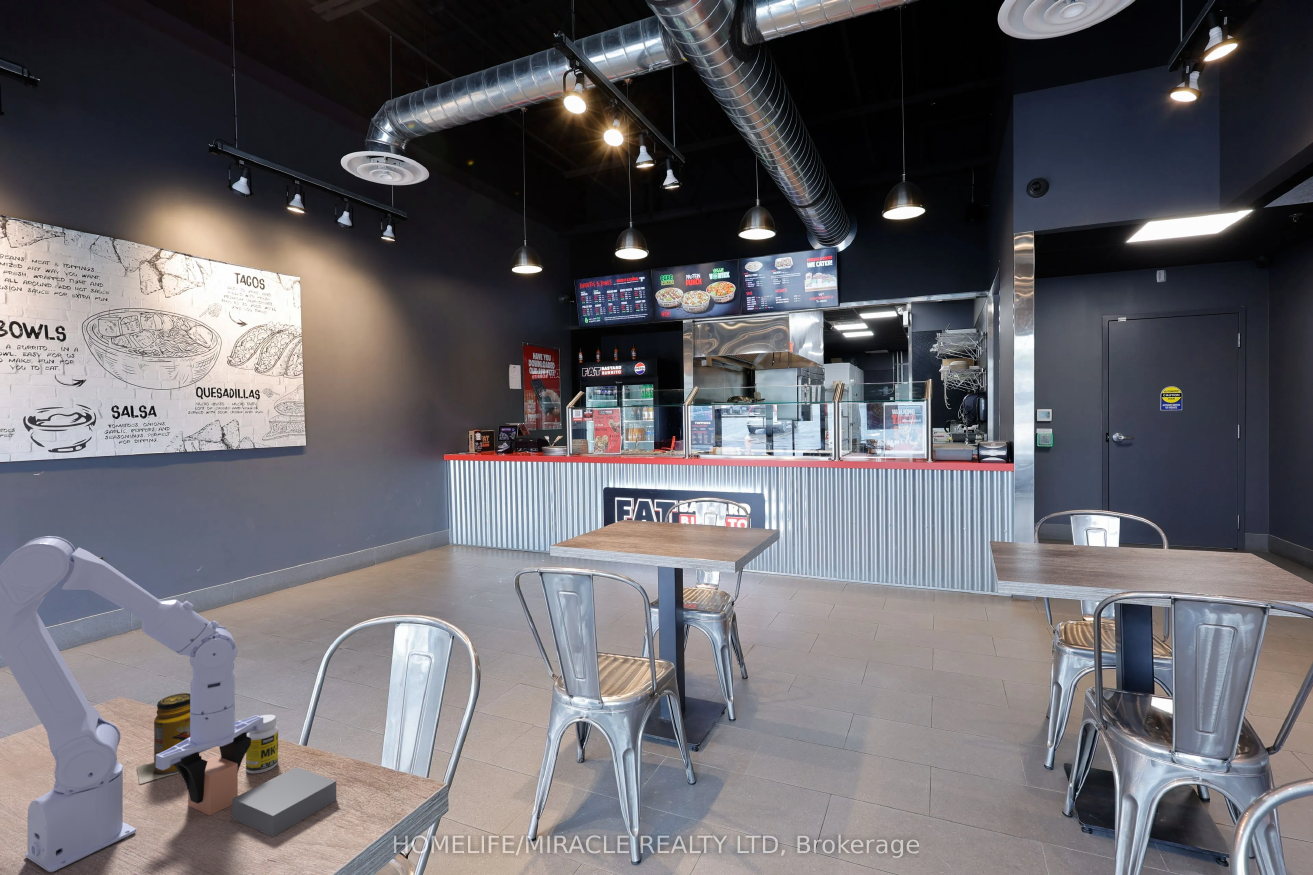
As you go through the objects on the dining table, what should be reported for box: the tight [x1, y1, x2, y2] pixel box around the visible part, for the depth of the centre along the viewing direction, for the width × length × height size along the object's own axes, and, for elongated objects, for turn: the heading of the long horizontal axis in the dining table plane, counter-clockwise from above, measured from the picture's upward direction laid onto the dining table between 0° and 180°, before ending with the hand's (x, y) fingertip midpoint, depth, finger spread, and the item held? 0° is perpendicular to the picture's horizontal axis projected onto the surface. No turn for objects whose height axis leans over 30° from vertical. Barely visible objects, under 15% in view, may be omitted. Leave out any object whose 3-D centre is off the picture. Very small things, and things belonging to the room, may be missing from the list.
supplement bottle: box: [245, 714, 279, 775], centre depth 106 cm, size 5×5×8 cm
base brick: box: [231, 766, 337, 837], centre depth 94 cm, size 10×10×3 cm
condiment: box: [136, 692, 190, 785], centre depth 107 cm, size 7×8×12 cm
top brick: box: [187, 755, 239, 816], centre depth 96 cm, size 4×6×6 cm, turn 64°
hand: (212, 792), depth 95 cm, fingers closed on top brick, 4 cm apart
